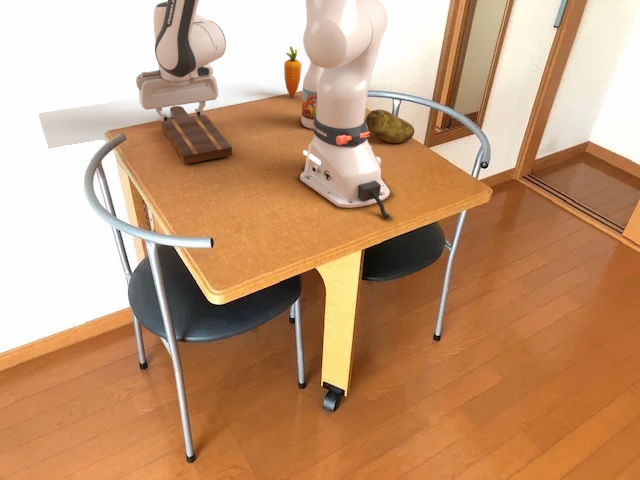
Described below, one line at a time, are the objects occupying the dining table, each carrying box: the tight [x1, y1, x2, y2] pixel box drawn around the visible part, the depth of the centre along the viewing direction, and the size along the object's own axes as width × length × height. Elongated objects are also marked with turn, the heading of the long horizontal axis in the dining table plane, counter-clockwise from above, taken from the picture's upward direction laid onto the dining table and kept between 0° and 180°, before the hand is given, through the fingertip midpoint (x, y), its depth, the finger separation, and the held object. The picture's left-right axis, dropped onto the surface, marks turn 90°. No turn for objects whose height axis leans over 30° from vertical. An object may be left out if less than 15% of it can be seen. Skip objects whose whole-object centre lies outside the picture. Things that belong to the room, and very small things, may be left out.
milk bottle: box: [300, 59, 324, 130], centre depth 148 cm, size 8×8×20 cm
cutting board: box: [160, 105, 233, 165], centre depth 142 cm, size 28×12×3 cm, turn 28°
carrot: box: [283, 46, 302, 98], centre depth 164 cm, size 5×5×15 cm
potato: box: [365, 108, 415, 144], centre depth 147 cm, size 8×13×8 cm, turn 73°
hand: (181, 118), depth 148 cm, fingers open, 8 cm apart
